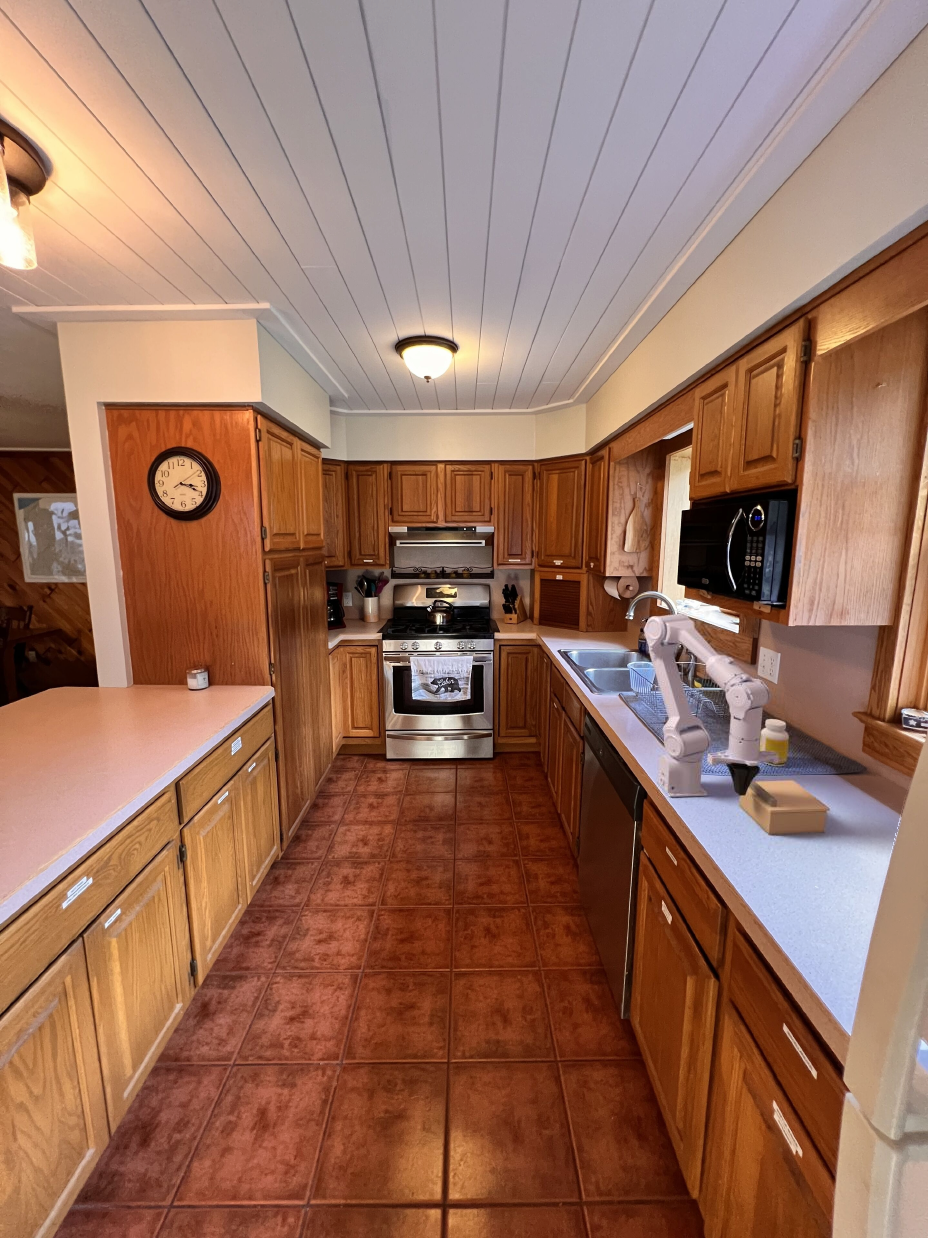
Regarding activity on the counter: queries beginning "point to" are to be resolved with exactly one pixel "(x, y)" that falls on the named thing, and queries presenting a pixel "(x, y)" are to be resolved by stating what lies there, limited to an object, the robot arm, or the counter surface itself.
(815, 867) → the counter surface
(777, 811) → the lid
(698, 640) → the robot arm
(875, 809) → the counter surface
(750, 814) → the mailer box
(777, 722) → the pill bottle
